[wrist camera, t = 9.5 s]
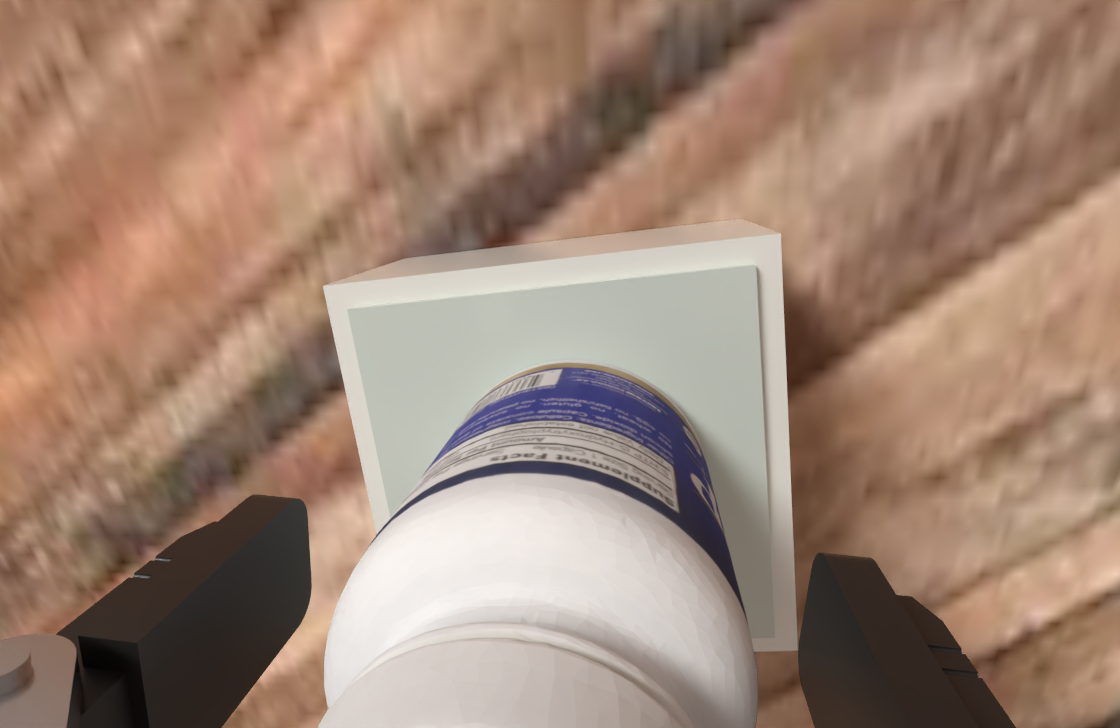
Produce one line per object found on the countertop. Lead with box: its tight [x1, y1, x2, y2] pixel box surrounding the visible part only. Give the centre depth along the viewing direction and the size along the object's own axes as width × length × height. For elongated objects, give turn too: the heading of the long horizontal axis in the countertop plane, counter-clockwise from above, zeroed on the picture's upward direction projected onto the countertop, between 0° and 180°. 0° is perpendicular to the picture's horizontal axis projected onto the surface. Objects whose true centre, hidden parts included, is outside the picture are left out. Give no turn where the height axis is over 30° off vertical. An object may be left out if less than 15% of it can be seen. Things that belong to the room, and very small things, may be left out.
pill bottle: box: [318, 359, 758, 728], centre depth 10 cm, size 5×5×9 cm
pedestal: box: [323, 219, 798, 652], centre depth 16 cm, size 9×9×5 cm
